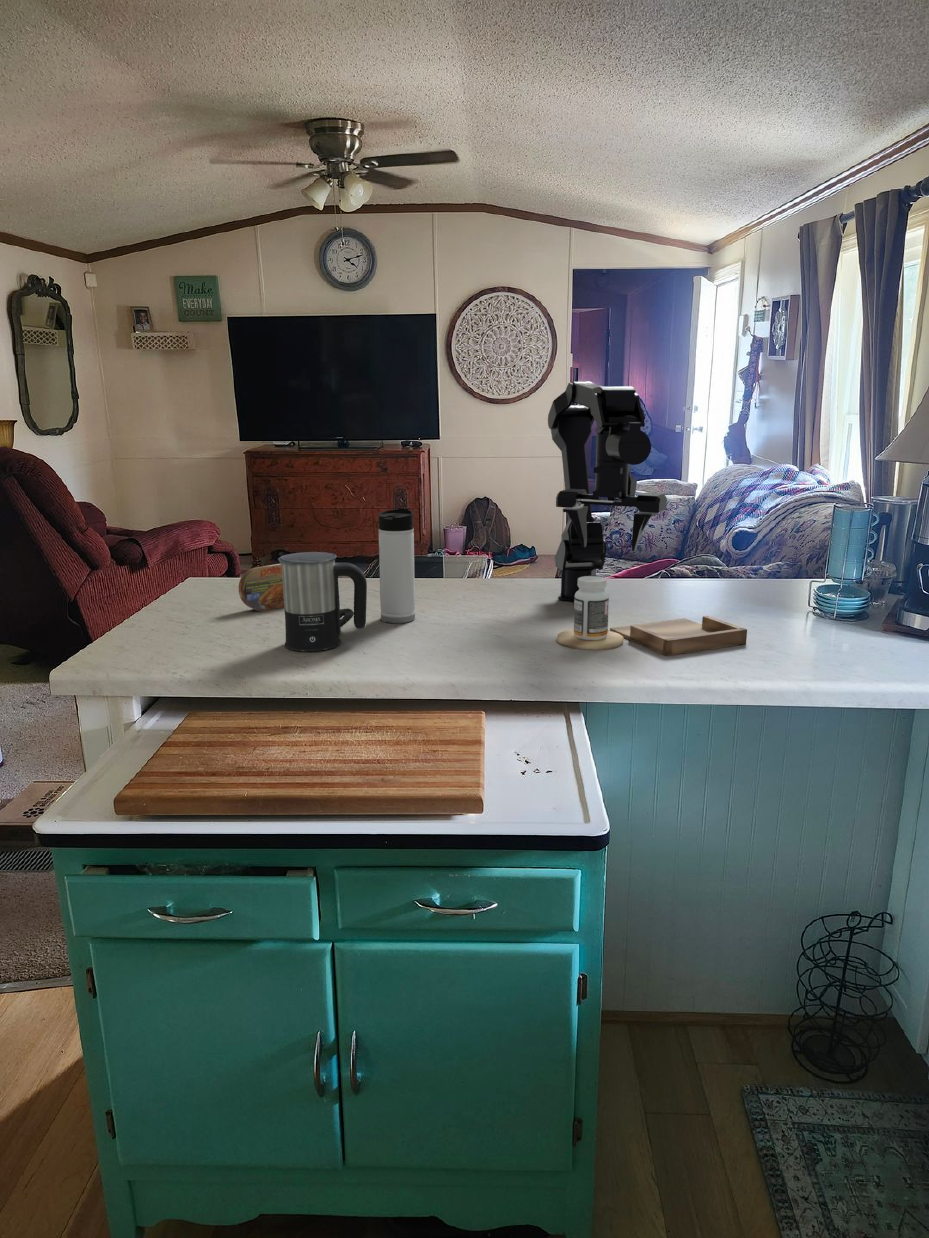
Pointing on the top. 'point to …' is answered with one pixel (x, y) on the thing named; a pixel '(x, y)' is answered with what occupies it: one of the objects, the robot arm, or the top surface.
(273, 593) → the tin
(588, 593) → the pill bottle
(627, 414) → the robot arm
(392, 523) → the travel mug
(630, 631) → the tray
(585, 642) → the cork mat
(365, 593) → the milk frother
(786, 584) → the top surface
